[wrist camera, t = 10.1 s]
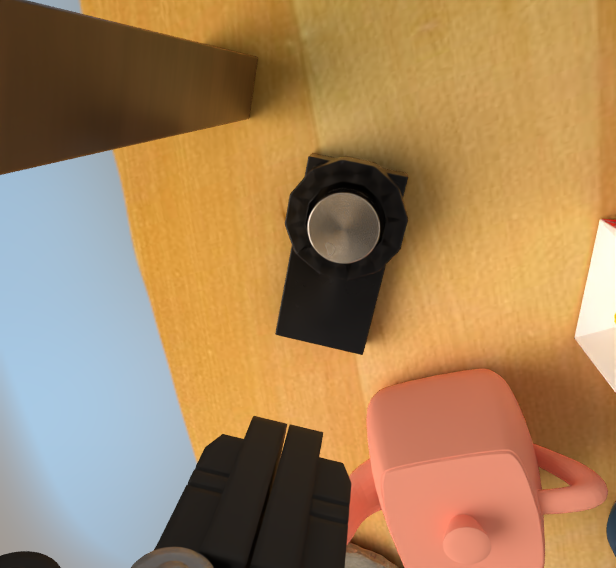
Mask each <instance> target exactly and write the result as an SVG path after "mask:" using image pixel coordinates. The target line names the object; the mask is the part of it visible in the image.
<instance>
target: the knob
mask: <svg viewBox="0 0 616 568" xmlns="http://www.w3.org/2000/svg"><path fill="white" fill-rule="evenodd" d="M307 230H308V236H309V240H310V242H311V244H312V246H313V247H314V249H315V250H316V251H317V252H318V253H319V254H320V255H321V256H322V257H324V258H326V259H327V260H330V261H332V262H336V263H352V262H356V261H359V260H361V259H363V258H364V257H366V256H367V255H368V254H369V253H370V252H371V251H372V250H373V249H374V247H375V246H376V244H377V241H378V238H379V234H380V213H379V210H378V207H377V205H376V203H375V202H374V200H373V199H372V198H371V197H370V196H369V195H368V194H367V193H365V192H363V191H362V190H360V189H357V188H354V187H338V188H334V189H332V190H330V191H328V192H326V193H325V194H324V195H323V196H322V197H321V198H320V199H319V200H318V201H317V203H316V205H315V206H314V208H313V210H312V211H311V213H310V216H309V219H308V225H307Z"/></svg>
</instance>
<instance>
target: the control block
mask: <svg viewBox="0 0 616 568" xmlns="http://www.w3.org/2000/svg"><path fill="white" fill-rule="evenodd" d="M407 180H408V176H407V173H404V172H400V171H395V170H390V169H386V168H381V167H380V166H379V165H378V164H377V163H375V162H371V161H367V160H362V159H357V158H352V157H348V156H342V157H339V158H334V157H329V156H324V155H320V154H315V153H312V154H311V155H310V156H309V157H308V162H307V167H306V172H305V177H304V178H303V180H302V181H301V182H300V183H299V184H298V185H297V187H296V188H295V189H294V190H293V191H292V192H291V194H290V198H289V203H288V209H287V214H286V220H285V226H286V229H287V232H288V235H289V238H290V240H291V243H292V247H291V253H290V258H289V264H288V269H287V274H286V280H285V285H284V290H283V296H282V301H281V306H280V312H279V317H278V323H277V328H276V333H275V334H276V335H279V336H284V337H288V338H292V339H296V340H301V341H305V342H309V343H314V344H318V345H322V346H326V347H331V348H335V349H339V350H344V351H348V352H352V353H357V354H361V355H363V352H364V348H365V344H366V340H367V336H368V333H369V329H370V325H371V321H372V317H373V313H374V309H375V305H376V301H377V297H378V293H379V290H380V286H381V282H382V278H383V274H384V270H385V266H386V264H387V263H388V262H389V261H390V260H391V259H392V258H393V257H394V256H395V255H396V254H397V253H398V252H399V250H400V249H401V245H402V241H403V237H404V233H405V230H406V226H407V222H408V217H407V211H406V208H405V205H404V201H403V196H404V192H405V188H406V184H407ZM338 187H354V188H357V189H360V190H362V191H363V192H365V193H367V194H368V195H369V196H370V197H371V198H372V199H373V200H374V202H375V203H376V205H377V207H378V210H379V213H380V234H379V238H378V241H377V244H376V246H375V247H374V249H373V250H372V251H371V252H370V253H369V254H368V255H367V256H366V257H364V258H363V259H361V260H359V261H356V262H352V263H336V262H332V261H330V260H327V259H326V258H324V257H322V256H321V255H320V254H319V253H318V252H317V251H316V250H315V249H314V247H313V246H312V244H311V242H310V240H309V236H308V230H307V225H308V219H309V216H310V213H311V211H312V210H313V208H314V206H315V205H316V203H317V201H318V200H319V199H320V198H321V197H322V196H323V195H324V194H325V193H326V192H328V191H330V190H332V189H334V188H338Z"/></svg>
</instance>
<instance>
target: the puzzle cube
mask: <svg viewBox="0 0 616 568" xmlns="http://www.w3.org/2000/svg"><path fill="white" fill-rule="evenodd" d="M574 339H575V340H576V341H577V343H578V344H579V345H580V347H581V348H582V349H583V351H584V352H585V353H586V355H587V356H588V357H589V359H590V360H591V361H592V362H593V364H594V365H595V366H596V367H597V369H598V370H599V372H600V373H601V374H602V376H603V377H604V378H605V380H606V381H607V382H608V384H609V385H610V386H611V387H612V389H613V390H614V391H615V393H616V220H610V219H600V221H599V226H598V231H597V235H596V240H595V244H594V249H593V254H592V258H591V263H590V268H589V272H588V277H587V282H586V286H585V291H584V296H583V300H582V305H581V310H580V314H579V319H578V324H577V328H576V333H575V338H574Z"/></svg>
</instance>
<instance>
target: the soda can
mask: <svg viewBox="0 0 616 568" xmlns="http://www.w3.org/2000/svg"><path fill="white" fill-rule="evenodd" d="M606 532H607V539H608V542H609V544H610V546H611V548H612V550H613V552H614V554H615V556H616V502H615V503H614V505H613V506H612V509H611V512H610V515H609V518H608V522H607V530H606Z"/></svg>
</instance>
